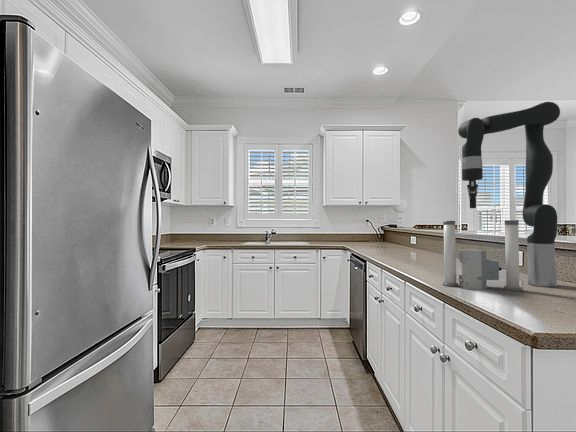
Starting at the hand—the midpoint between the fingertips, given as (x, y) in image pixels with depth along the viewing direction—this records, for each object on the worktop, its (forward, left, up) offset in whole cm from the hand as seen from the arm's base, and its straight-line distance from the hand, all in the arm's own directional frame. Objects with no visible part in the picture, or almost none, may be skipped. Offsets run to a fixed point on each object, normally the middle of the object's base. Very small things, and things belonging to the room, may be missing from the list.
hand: (472, 208), depth 142 cm
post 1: (+9, +1, -32) cm, 33 cm away
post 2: (-13, +1, -32) cm, 35 cm away
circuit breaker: (-2, +1, -32) cm, 32 cm away
